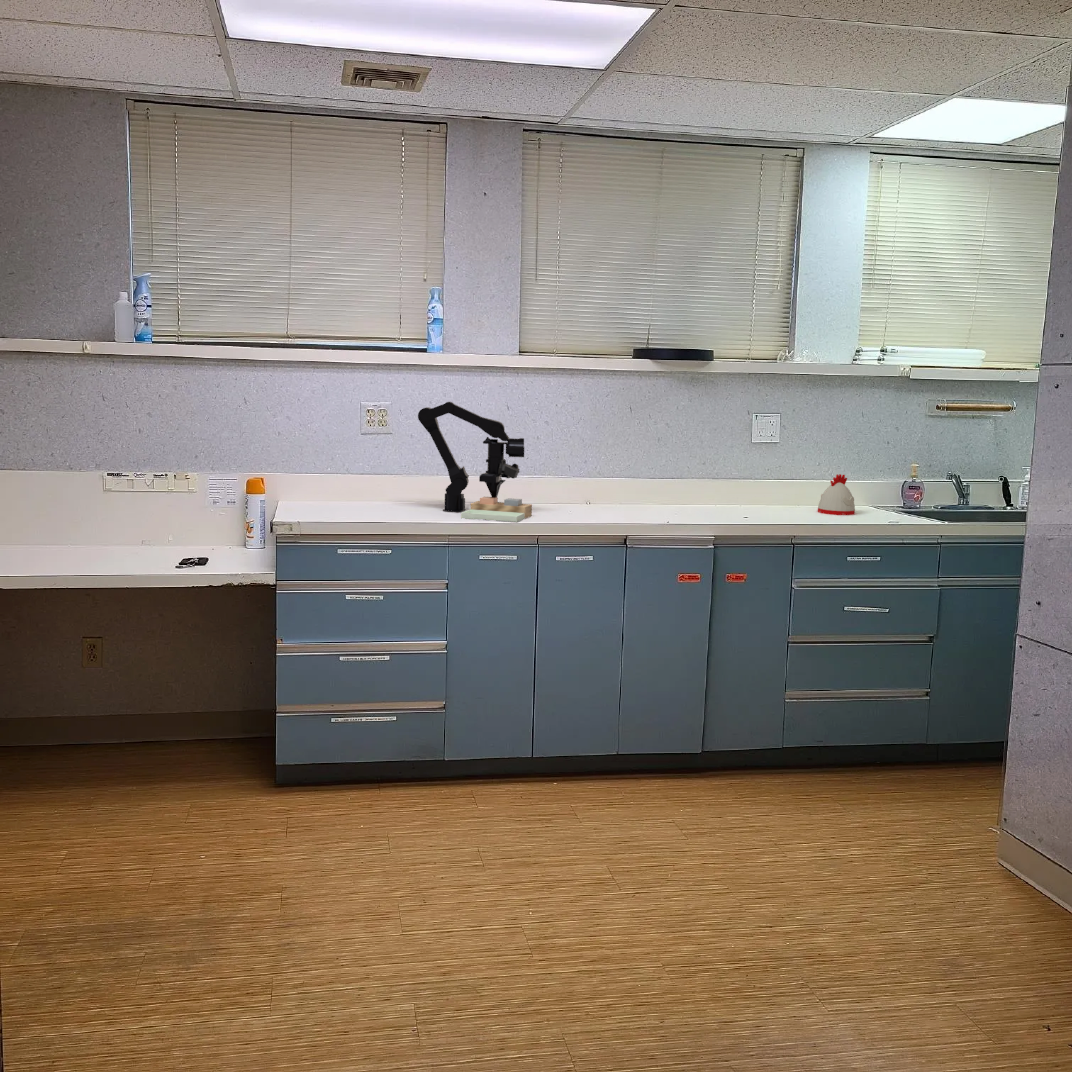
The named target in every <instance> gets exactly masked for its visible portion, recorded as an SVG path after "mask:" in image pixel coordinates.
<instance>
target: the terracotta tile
mask: <svg viewBox="0 0 1072 1072" xmlns="http://www.w3.org/2000/svg"><path fill="white" fill-rule="evenodd" d="M498 499H499V498H498V496H497V497H492V496H481V497H480V498H479V501H480V504H491V505H494V504H496V503H498V502H499V501H498Z"/></svg>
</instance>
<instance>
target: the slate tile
mask: <svg viewBox="0 0 1072 1072" xmlns="http://www.w3.org/2000/svg"><path fill="white" fill-rule="evenodd" d="M503 500H504V501H503V502H504V505H505V506H520V505H522V504H523V499H522V498H513V497H509V498H505V499H503Z"/></svg>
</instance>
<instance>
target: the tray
mask: <svg viewBox="0 0 1072 1072" xmlns="http://www.w3.org/2000/svg"><path fill="white" fill-rule="evenodd" d="M460 518H461V519H462V518H465V519H464V520H476V519H486V520H485V521H490V520H496V521H495V522H503V523H504V522H506V523H518V522H521V521H523V520H525V519H526V518H525V513H516V512H501V511H487V510H473V509H471V508H470V509H467V510H464V511H461V512H460Z"/></svg>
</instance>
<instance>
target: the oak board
mask: <svg viewBox="0 0 1072 1072" xmlns="http://www.w3.org/2000/svg"><path fill="white" fill-rule="evenodd" d="M532 506H533V504H529V503H522V505H520V506H505V505H504V501H503V502H502V501H501V502H500V501H498V503H496V504H494V505H491V504H480V500H477V501H474V502H472V503H470V509H473V510H487V511H501V512H516V513H525V519H527V518H529V517H531V516H532V514H533V513H532V510H533V509H532V508H533V507H532Z"/></svg>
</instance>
